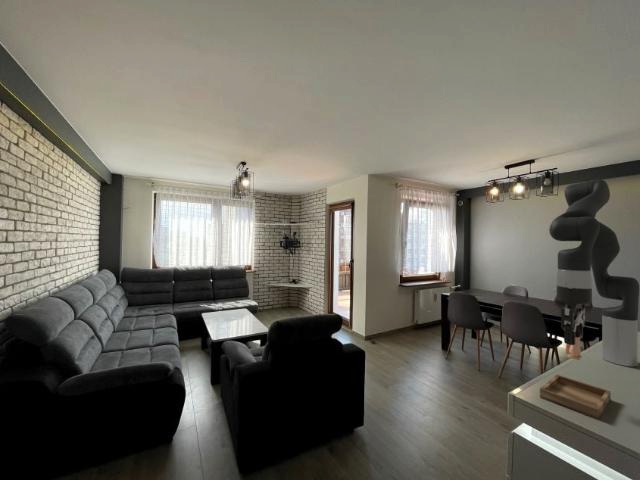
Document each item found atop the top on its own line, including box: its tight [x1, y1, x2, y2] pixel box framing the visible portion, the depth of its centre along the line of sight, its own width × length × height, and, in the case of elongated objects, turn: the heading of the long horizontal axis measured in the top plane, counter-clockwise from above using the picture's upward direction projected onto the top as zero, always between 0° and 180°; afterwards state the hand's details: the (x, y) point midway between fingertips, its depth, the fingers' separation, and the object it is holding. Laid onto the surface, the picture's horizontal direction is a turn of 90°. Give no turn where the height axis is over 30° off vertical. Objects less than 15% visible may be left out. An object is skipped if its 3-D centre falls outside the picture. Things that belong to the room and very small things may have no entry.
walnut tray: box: [539, 374, 612, 421], centre depth 78 cm, size 16×12×2 cm
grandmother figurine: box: [564, 317, 583, 361], centre depth 78 cm, size 8×4×13 cm, turn 134°
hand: (573, 341), depth 78 cm, fingers closed on grandmother figurine, 8 cm apart
